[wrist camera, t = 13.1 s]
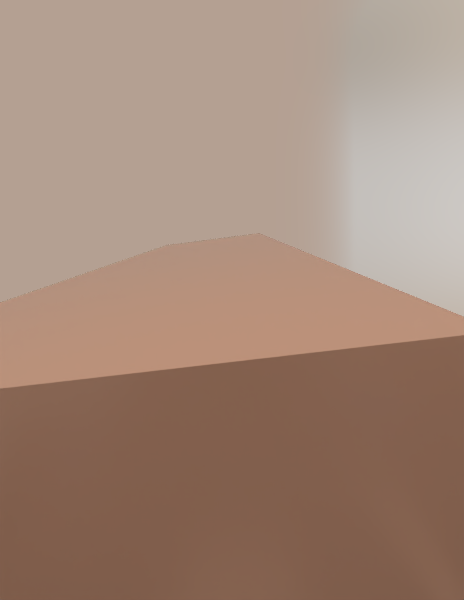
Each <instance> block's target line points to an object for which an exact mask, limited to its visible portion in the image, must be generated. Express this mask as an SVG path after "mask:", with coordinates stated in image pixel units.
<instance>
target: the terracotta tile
mask: <svg viewBox="0 0 464 600" xmlns="http://www.w3.org/2000/svg"><path fill="white" fill-rule="evenodd" d="M0 600H464V317H463V316H461V315H458V314H456V313H453V312H451V311H448V310H446V309H443V308H441V307H439V306H436V305H434V304H431V303H429V302H426V301H424V300H421V299H419V298H416V297H414V296H412V295H409V294H407V293H404V292H402V291H399V290H397V289H394V288H392V287H389V286H387V285H385V284H382V283H380V282H377V281H375V280H372V279H370V278H367V277H365V276H362V275H360V274H358V273H355V272H353V271H350V270H348V269H345V268H343V267H340V266H338V265H336V264H333V263H331V262H328V261H326V260H323V259H321V258H318V257H316V256H313V255H311V254H309V253H306V252H304V251H301V250H299V249H296V248H294V247H292V246H289V245H287V244H284V243H282V242H279V241H277V240H274V239H272V238H269V237H267V236H264V235H262V234H259V233H258V234H250V235H242V236H234V237H227V238H219V239H211V240H203V241H196V242H188V243H181V244H172V245H166V246H163V247H160V248H157V249H154V250H151V251H148V252H145V253H143V254H140V255H137V256H134V257H131V258H128V259H125V260H122V261H119V262H116V263H114V264H111V265H108V266H105V267H102V268H99V269H96V270H93V271H90V272H87V273H85V274H82V275H79V276H76V277H73V278H70V279H67V280H64V281H61V282H58V283H56V284H53V285H50V286H47V287H44V288H41V289H38V290H35V291H32V292H29V293H27V294H23V295H21V296H18V297H15V298H12V299H9V300H6V301H3V302H0Z"/></svg>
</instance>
